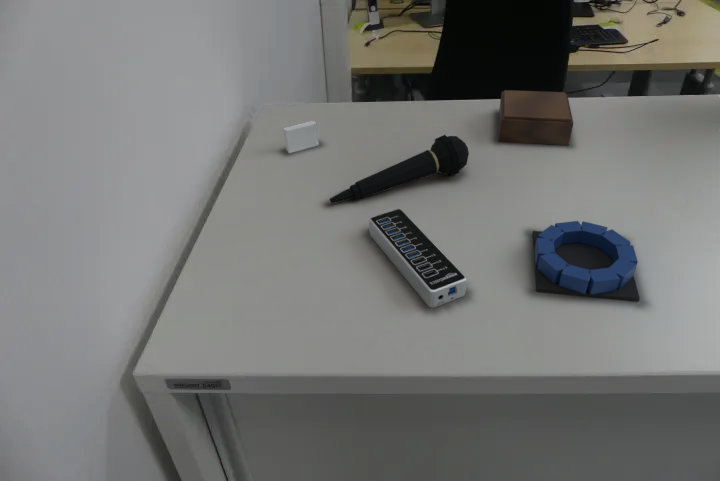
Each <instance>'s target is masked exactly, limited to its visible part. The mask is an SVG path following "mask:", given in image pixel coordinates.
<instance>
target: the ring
mask: <svg viewBox="0 0 720 481" xmlns="http://www.w3.org/2000/svg"><path fill="white" fill-rule="evenodd" d="M570 243H583V244H587V245H591V246H595V247H598V248H599V249H601V250H602V251H603V252H605V253H606V254H607V255H609V256H610V257H611V258H612V259H613V263H614V264H612V265H611V266H610V267H609V268H603V269H594V270H587V269H584V268H580V267H577V266H573V265H570V264H568V263H567V262H565V261H564V260H563V259H562V258H561V257H559V256H558V255H557V254H556V253H555V249H556V248H558V247H559V246H560V245H561V244H570ZM534 251H535V264H534V266H535V265H537V266H538V268H537V269H538V270H539V271H540V272H542V273H543V274H544V275H545V276H546V277H547V278H548V279H549V280H550V281H552V282H553V283H557V282H559V286H560V287H564V288H567V289H570V290H574V291H577V292H580V293H584V294H585V293H586V291H587V289H588V291H589V293H590V294H598V293H607V292H615V291H616V289H619V290H620V289H621V288H622V287H623V286H624V285H625V284H626V283H627V282H628V281H629V280H630V279H631V278H632V277H633V275H634V276H635V272H636V269H637V265H638V257H637V253H636V250H635V246H634V245H633V244H632V245H631V241H629V240H628V239H627V238H626V237H624V236H622V235H621V234H620V233H618V232H617V231H615V230H614V229H608V226H604V225H600V224H596V223H593V222H592V223H591V222H588V221H582V222H580V221H579V220H574V221H564V222H556V223H555V224H550V225H549V226H548V227H547V228H546V229H544V230H542V233H540V234H539V235H538V238H537V239H536V244H535V250H534V249H533V252H534Z"/></svg>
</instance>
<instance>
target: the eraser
mask: <svg viewBox="0 0 720 481" xmlns="http://www.w3.org/2000/svg"><path fill="white" fill-rule="evenodd" d="M282 130H283V136H284V143H285V150H286V152H287V153H288V154H293V153H297V152H300V151H304V150H307V149H310V148H314V147H318V146H320V143H319V133H318V124H317V122H316V121H315V120H310V121H306V122H302V123H299V124H294V125H291V126H287V127H283V128H282Z"/></svg>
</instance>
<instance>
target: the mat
mask: <svg viewBox="0 0 720 481" xmlns="http://www.w3.org/2000/svg"><path fill="white" fill-rule="evenodd" d="M542 232H543V230H541V231H540V230H533V231H532V246H533V248H532V249H533V261H534V262H533V263H534V277H535V290H536V292H540V293H549V294H550V293H551V294H562V295H572V296H582V297H591V298H603V299H612V300H622V301H631V302H632V301H633V302H639V301H640V299H641V298H640V294H639V291H638V287H637V284H636V279H635V274H634V275H633V277H632V278H631V279H630V280H629V281H628V282H627V283H626V284H625V285H624V286H623V287H622V288H621V289H620V290H619V289H616V291H615V292H607V293H598V294H590V293H589V291H588V289H587V291H586V293H585V294H584V293H580V292H577V291H574V290H570V289H567V288H564V287H560V286H559V282H557V283H553V282H552V281H550V280H549V279H548V278H547V277H546V276H545V275H544V274H543V273H542V272H540V271H539V270H538V269H537V268H538V266H537V265H535V251H534V250H535V244H536V239H537V238H538V235H539V234H540V233H542ZM555 253H556V254H557V255H558V256H559V257H561V258H562V259H563V260H564V261H565V262H567V263H568V264H570V265H573V266H577V267H580V268H584V269H587V270H594V269H603V268H609V267H610V266H611V265H612V264H614V263H613V259H612V258H611V257H610V256H609V255H607V254H606V253H605V252H603V251H602V250H601V249H599V248H598V247H595V246H591V245H587V244H583V243H570V244H561V245H560V246H559V247H558V248H556V249H555Z"/></svg>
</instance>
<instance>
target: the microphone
mask: <svg viewBox="0 0 720 481" xmlns="http://www.w3.org/2000/svg"><path fill="white" fill-rule="evenodd" d="M469 156H470V151H469V147H468V146H467V144H466V142H465V141H463V140H462V139H461V138H460V137H459V136H457V135H448V136H447V134H443V135H441V136H439V137H436V138H434V142H433V143H432V145H431V146H430V149H427V150H424V151H422V152H419V153H417V154H415V155H413V156H411V157H409V158H407V159H404V160H402V161H400V162H397V163H395V164H393V165H391V166H389V167H386V168H384V169H382V170H380V171H377V172H375V173H373V174H371V175H369V176H367V177H365V178H362V179H359V180H357V181H356V182H354V184H351V185H350V186H349V188H347V189H344V190H343V191H340V192H338V193H337V194H335V195H334V196H332V197H330V198H329V202H330V203H331V204H334V203H340V202H344V201H347V200H351V199H354V200H357V199H359V198H360V199H363V198H366V197H370V196H373V195H375V194H378V193H382V192H384V191H387V190H389V189H393V188H397V187H399V186H402V185H405V184H408V183H412V182H414V181H417V180H421V179H425V178H427V177H429V176H433V175H435V174H438V173H439V174H441V175H447V177H452V176H456V175H458V174H460V171H461V170H462V169H464V168H465V167H466V166H467V165H468V160H469Z"/></svg>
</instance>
